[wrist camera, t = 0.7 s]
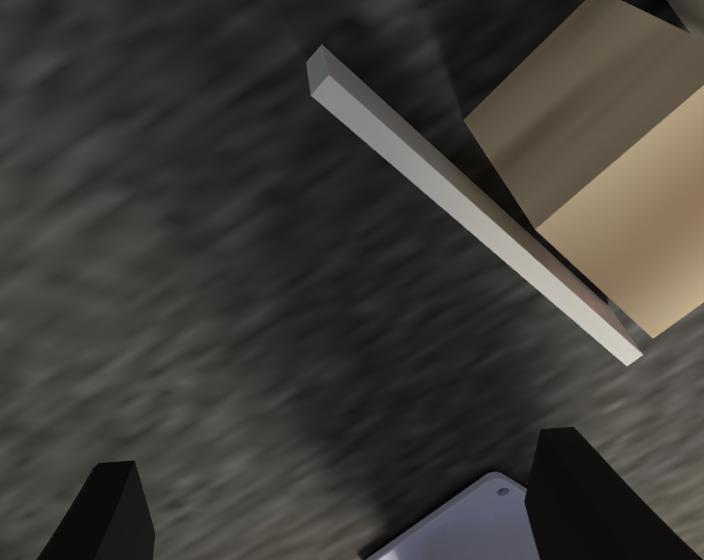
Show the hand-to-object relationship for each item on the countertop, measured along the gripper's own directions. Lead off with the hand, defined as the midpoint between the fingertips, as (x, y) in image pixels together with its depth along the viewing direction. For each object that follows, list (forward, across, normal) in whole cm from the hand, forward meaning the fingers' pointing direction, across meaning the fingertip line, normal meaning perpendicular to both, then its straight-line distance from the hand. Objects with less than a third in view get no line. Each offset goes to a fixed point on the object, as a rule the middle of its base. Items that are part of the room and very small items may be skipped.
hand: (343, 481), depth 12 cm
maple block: (+9, -7, -3) cm, 12 cm away
